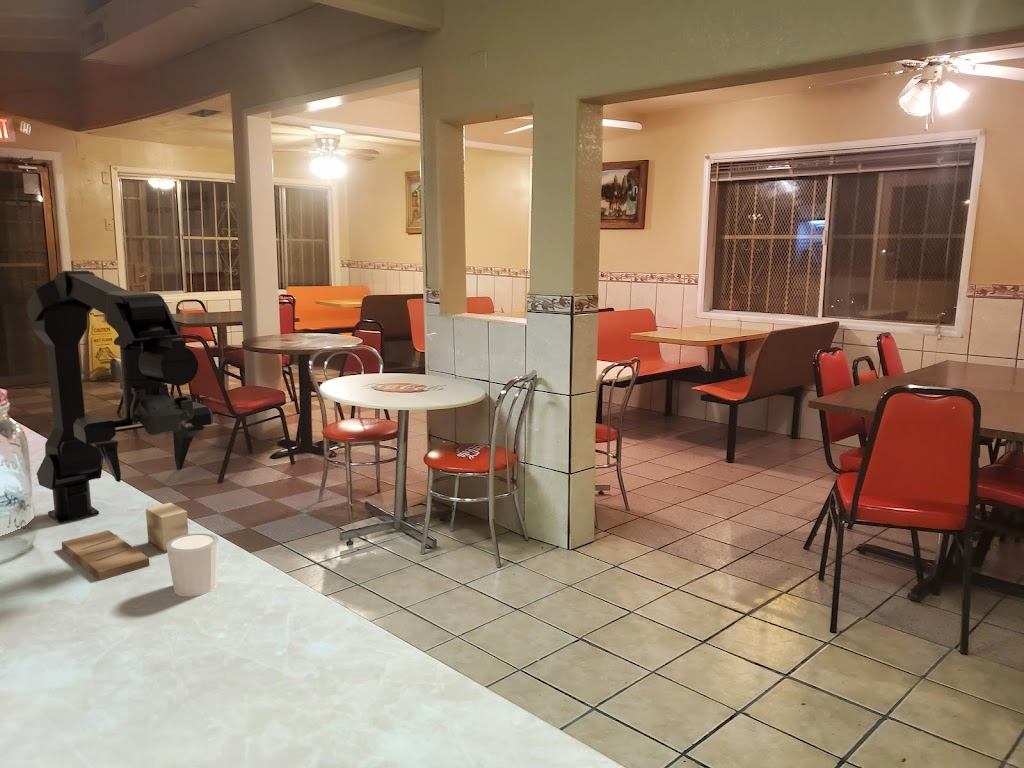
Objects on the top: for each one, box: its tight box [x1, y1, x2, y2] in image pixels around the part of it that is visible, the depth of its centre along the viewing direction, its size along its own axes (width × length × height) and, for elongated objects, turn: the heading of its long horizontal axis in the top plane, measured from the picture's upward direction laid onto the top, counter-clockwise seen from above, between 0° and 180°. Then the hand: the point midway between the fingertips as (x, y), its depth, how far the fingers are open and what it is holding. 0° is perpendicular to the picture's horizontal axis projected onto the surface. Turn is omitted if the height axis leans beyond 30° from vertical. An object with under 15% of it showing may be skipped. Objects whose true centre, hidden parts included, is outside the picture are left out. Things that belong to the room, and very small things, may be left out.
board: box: [61, 529, 150, 581], centre depth 117 cm, size 16×7×1 cm, turn 48°
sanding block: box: [145, 501, 189, 554], centre depth 121 cm, size 6×4×6 cm, turn 48°
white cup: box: [166, 532, 220, 598], centre depth 106 cm, size 7×7×7 cm
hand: (149, 474), depth 117 cm, fingers open, 9 cm apart
